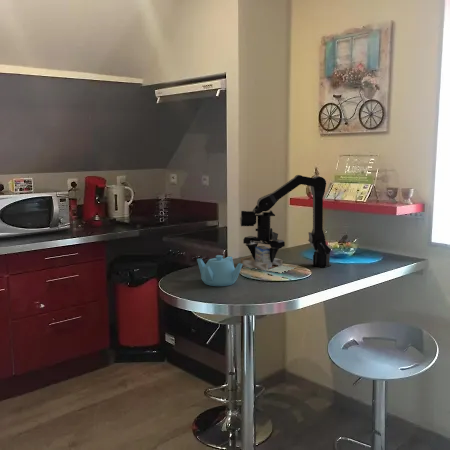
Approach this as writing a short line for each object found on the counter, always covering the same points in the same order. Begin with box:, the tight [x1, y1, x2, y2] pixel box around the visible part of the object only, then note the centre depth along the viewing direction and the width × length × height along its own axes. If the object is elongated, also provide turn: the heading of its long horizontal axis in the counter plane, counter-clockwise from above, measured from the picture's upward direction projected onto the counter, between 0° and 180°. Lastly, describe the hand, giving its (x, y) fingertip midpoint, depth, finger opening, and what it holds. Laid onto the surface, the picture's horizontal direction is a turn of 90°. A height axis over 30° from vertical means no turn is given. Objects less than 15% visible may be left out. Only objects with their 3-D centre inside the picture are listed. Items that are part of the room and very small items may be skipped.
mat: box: [266, 264, 296, 274], centre depth 222 cm, size 7×12×1 cm, turn 140°
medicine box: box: [255, 245, 273, 269], centre depth 227 cm, size 8×4×9 cm, turn 25°
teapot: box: [196, 254, 243, 287], centre depth 200 cm, size 15×15×11 cm
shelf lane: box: [240, 255, 283, 272], centre depth 228 cm, size 14×12×4 cm
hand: (263, 261), depth 228 cm, fingers closed on medicine box, 9 cm apart
